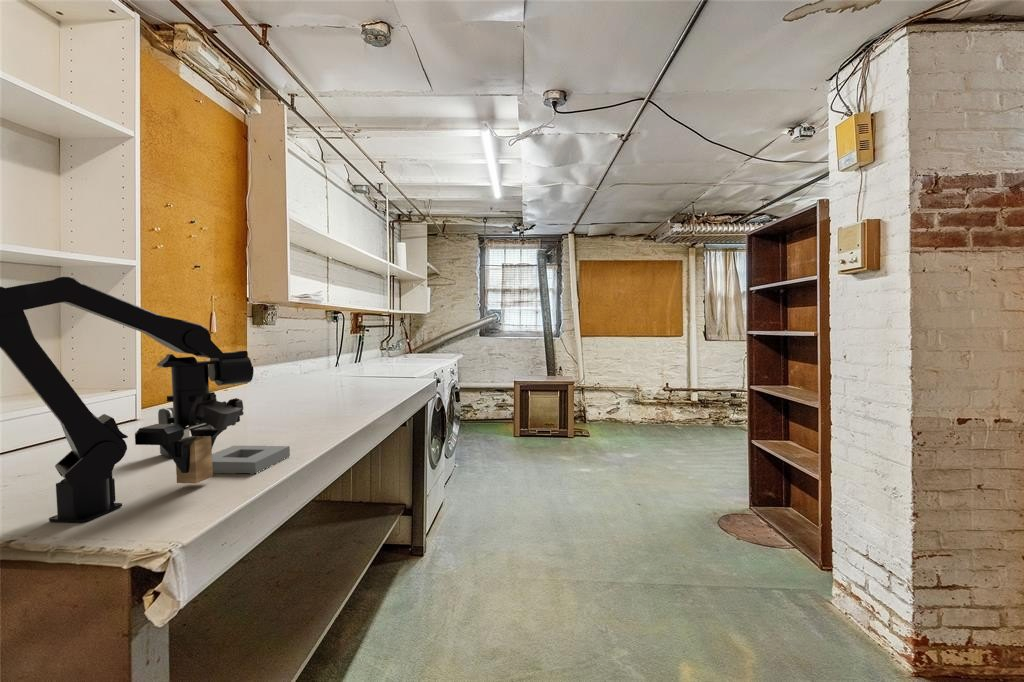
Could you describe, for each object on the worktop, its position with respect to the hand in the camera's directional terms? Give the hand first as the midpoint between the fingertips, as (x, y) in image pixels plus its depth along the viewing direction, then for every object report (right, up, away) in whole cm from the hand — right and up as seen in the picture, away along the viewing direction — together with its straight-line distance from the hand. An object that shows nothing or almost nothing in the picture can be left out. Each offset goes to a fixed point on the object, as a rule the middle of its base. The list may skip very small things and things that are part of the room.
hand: (194, 469), depth 85 cm
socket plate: (+2, -3, +13) cm, 13 cm away
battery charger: (-20, -3, +21) cm, 29 cm away
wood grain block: (0, -2, 0) cm, 2 cm away
